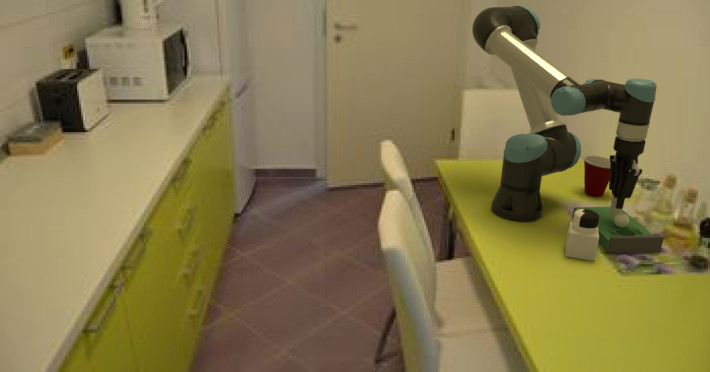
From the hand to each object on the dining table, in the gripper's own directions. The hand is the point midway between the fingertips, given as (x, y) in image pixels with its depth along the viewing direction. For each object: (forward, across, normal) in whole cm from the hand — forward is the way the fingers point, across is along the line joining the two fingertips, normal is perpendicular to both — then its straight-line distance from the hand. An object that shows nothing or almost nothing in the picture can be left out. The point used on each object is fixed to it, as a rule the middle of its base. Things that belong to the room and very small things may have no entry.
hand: (614, 217), depth 163 cm
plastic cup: (+4, +27, -8) cm, 29 cm away
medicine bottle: (+5, -12, +15) cm, 20 cm away
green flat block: (+4, -1, 0) cm, 4 cm away
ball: (-1, -3, 0) cm, 3 cm away
